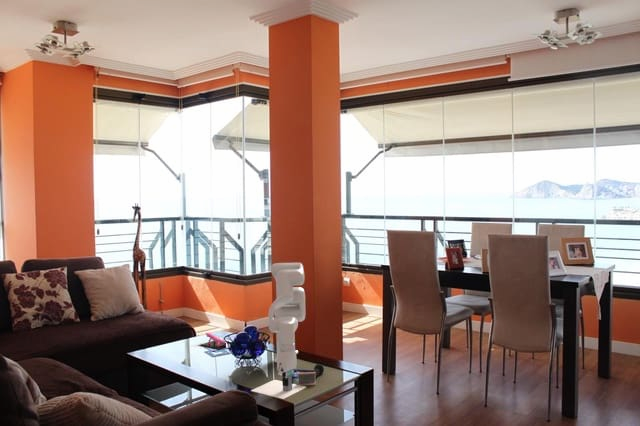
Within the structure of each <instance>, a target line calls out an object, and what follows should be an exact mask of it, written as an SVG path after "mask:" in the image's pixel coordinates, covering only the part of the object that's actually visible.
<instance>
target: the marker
mask: <svg viewBox="0 0 640 426" xmlns="http://www.w3.org/2000/svg"><path fill="white" fill-rule="evenodd" d="M284 374H285V373H284ZM287 378H288V386H283V391H287V392H289V391H291V390H292V370H290V371H288V375H287Z"/></svg>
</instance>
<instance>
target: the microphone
mask: <svg viewBox="0 0 640 426" xmlns="http://www.w3.org/2000/svg"><path fill="white" fill-rule="evenodd" d="M324 371H325V368H324V365H322V364H320V363H317V364H316V365H314V370H313V371H312V372H316V377H318V375H322V374H323V373H324Z"/></svg>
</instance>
